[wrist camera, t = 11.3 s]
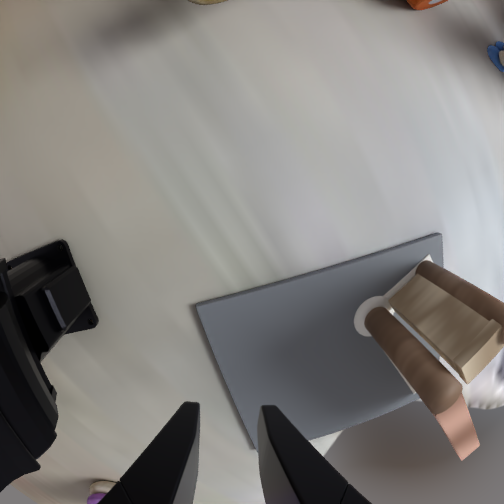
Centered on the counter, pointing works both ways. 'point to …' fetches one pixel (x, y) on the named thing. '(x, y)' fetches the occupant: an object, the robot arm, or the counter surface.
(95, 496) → the stacking toy
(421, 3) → the toy helicopter
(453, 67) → the counter surface
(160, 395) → the counter surface
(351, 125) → the counter surface
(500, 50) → the doll family
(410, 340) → the fence gate
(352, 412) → the board
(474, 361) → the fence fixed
